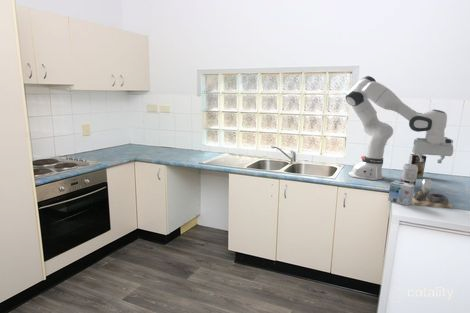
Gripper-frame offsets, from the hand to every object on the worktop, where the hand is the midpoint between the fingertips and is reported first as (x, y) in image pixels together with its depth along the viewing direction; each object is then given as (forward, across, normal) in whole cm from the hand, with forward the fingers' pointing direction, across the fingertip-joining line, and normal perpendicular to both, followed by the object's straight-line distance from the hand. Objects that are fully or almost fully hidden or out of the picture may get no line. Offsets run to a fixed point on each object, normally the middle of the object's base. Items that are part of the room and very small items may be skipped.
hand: (430, 162), depth 183 cm
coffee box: (+21, +9, +45) cm, 51 cm away
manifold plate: (+20, -2, -12) cm, 24 cm away
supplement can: (+21, -5, +14) cm, 25 cm away
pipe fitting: (+20, 0, 0) cm, 21 cm away
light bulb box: (+21, -18, -15) cm, 31 cm away
